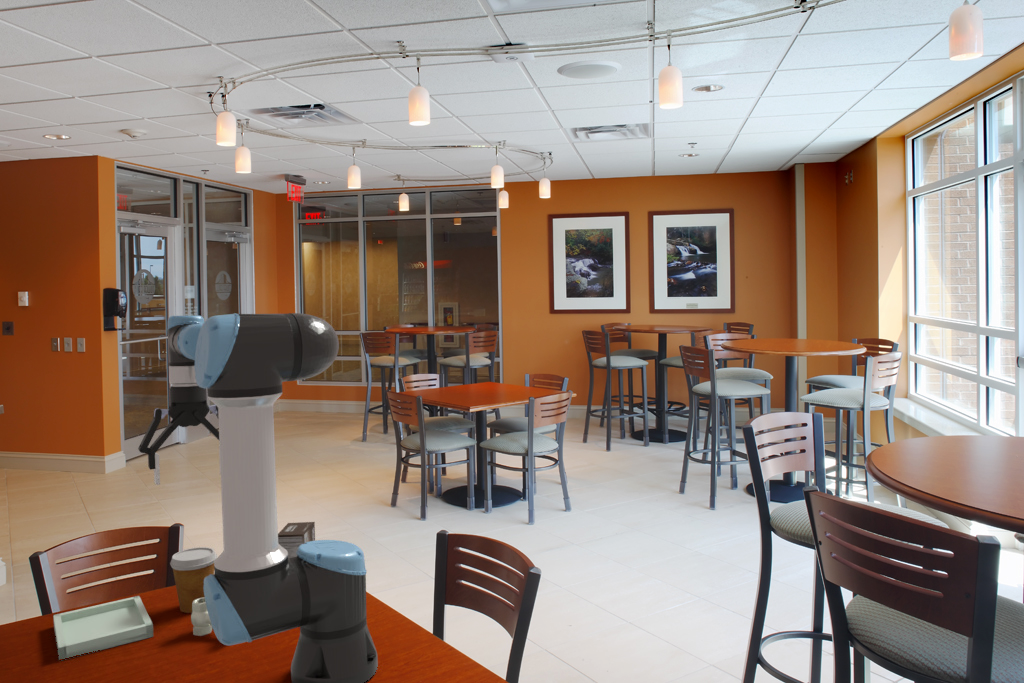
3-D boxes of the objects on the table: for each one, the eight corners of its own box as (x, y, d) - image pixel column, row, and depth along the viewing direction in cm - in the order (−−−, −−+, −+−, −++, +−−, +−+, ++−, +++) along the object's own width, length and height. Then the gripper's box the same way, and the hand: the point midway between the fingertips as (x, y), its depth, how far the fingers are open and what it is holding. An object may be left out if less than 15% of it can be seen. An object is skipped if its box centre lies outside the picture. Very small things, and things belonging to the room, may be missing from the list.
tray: (153, 636, 141) (152, 624, 141) (59, 661, 132) (58, 648, 132) (139, 606, 156) (139, 595, 156) (53, 626, 146) (53, 615, 146)
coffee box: (290, 589, 164) (287, 521, 163) (317, 588, 164) (315, 521, 163) (278, 606, 155) (275, 534, 154) (307, 605, 155) (305, 533, 154)
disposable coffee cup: (227, 599, 159) (225, 547, 158) (202, 617, 150) (199, 562, 149) (189, 597, 161) (187, 545, 160) (162, 614, 151) (159, 560, 151)
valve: (182, 638, 140) (234, 645, 137) (181, 606, 140) (232, 612, 137) (205, 624, 147) (254, 630, 144) (204, 593, 146) (253, 598, 143)
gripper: (241, 380, 166) (244, 468, 167) (122, 387, 152) (125, 484, 153) (250, 382, 160) (252, 474, 161) (126, 389, 146) (129, 490, 146)
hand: (190, 479), depth 157 cm, fingers open, 13 cm apart
